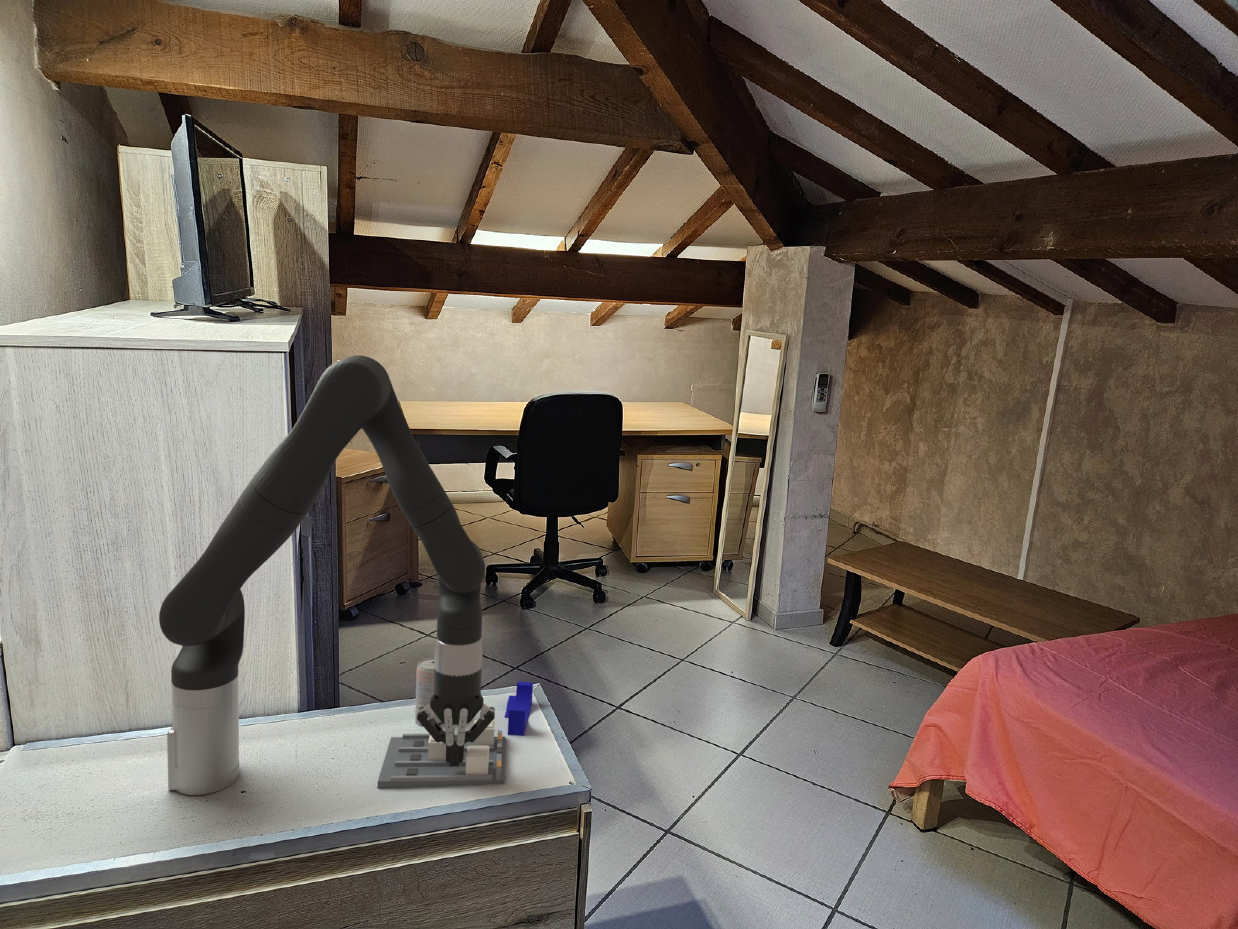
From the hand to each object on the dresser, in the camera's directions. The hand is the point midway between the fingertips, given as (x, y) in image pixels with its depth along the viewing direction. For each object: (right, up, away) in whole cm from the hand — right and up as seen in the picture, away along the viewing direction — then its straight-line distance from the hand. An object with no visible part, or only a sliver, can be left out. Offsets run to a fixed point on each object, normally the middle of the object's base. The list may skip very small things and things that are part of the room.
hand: (454, 763), depth 127 cm
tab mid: (-4, -1, +4) cm, 5 cm away
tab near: (+3, -2, +1) cm, 4 cm away
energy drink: (-8, 0, +18) cm, 20 cm away
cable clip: (+7, -1, +20) cm, 21 cm away
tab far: (+3, 0, +10) cm, 10 cm away
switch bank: (-3, -2, +5) cm, 6 cm away
